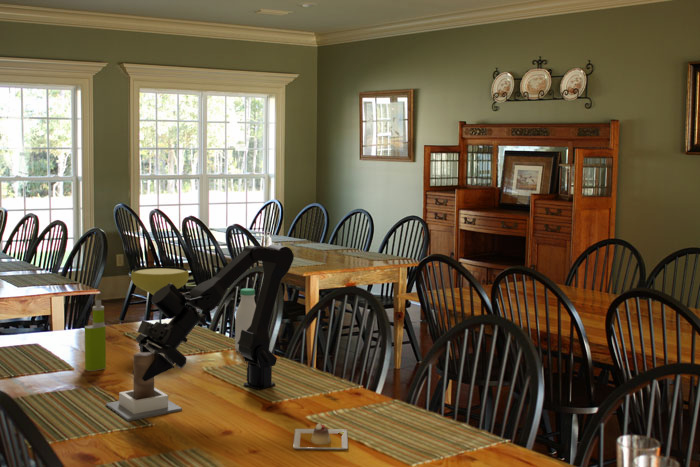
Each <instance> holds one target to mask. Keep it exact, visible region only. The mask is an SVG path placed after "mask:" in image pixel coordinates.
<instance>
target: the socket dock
mask: <svg viewBox="0 0 700 467" xmlns="http://www.w3.org/2000/svg"><path fill="white" fill-rule="evenodd" d="M133 396H134V389H130V390H126V391H120V392H118V400H117V401H112V402H106V403H105V406H106V407H107V406H108V407H107V408H108V409H110V410H111V409H112V411H113V412H114V411H115V412H114V413H115V414H117V415H118V414H119V415H118V416H120V417H121V418H123V419H124V420H125V421H127V422H131V421H135V420H136V421H137V420H141V419H146V418H150V417H157V416H161V415H165V414H171V413H176V412H180V411H181V412H182V411H183V407H181V406H180V405H177V404H176V403H175V402H172V401H171V400H169V395H168V394H166V393H164V392H163V391H161V390H159V389H157V387H154V397H150V398H145V399H139V400H135V399H133Z"/></svg>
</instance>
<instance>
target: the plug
mask: <svg viewBox="0 0 700 467" xmlns="http://www.w3.org/2000/svg"><path fill="white" fill-rule="evenodd" d="M153 361H154V353H151V352H140V351H139V352H136V353H133V369H134V375H133V390H134V396H133V399H135V400H139V399H145V398H150V397H154V388H155V377H153V378H151V379H149V380H147V381H144V380H142V377H143V376H144V374H145V372H146V371H147V369H148V368H149V366H150V365H151V364H152V362H153Z"/></svg>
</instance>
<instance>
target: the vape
mask: <svg viewBox="0 0 700 467" xmlns="http://www.w3.org/2000/svg"><path fill="white" fill-rule="evenodd" d="M106 338H107V336H106V324H105V306H104V305H102V300H100V299H99V300H95V305H93V306H92V325H91V324H90V325H84V370H85V371H88V372H94V371H95V372H96V371H99V370H105V369H106V368H107V354H106V353H107V350H106V349H107V348H106V347H107V344H106V341H107V340H106Z"/></svg>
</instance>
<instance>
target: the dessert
mask: <svg viewBox="0 0 700 467" xmlns="http://www.w3.org/2000/svg"><path fill="white" fill-rule="evenodd" d="M339 432H344V434H343V435H342V436H341V447H319V446H318V447H314V446H313V447H312V446H311V447H309V446H308V447H307V446H303V447H302V446H300V445H301V436H302V435H301V434H312V436H311V439H310V442H311V443H312V444H315V445H327V444H328V445H329V443H331V441H332V439H331V436H330V434H338V433H339ZM348 441H349V440H348V429H346V428H345V429H343V428H342V429H339V428H337V429H336V428H335V429H334V428H333V429H331V428H329V429H328V428H327V427H326V426H325V424H322V423H321V422H319V423H317V424H316V425H315V427H314V428H295V429H294V436H293V443H292V444H293V447H292V448H293V449H295V450H332V451H333V450H338V451H339V450H343V451H345V450H348V449H349V442H348Z"/></svg>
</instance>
